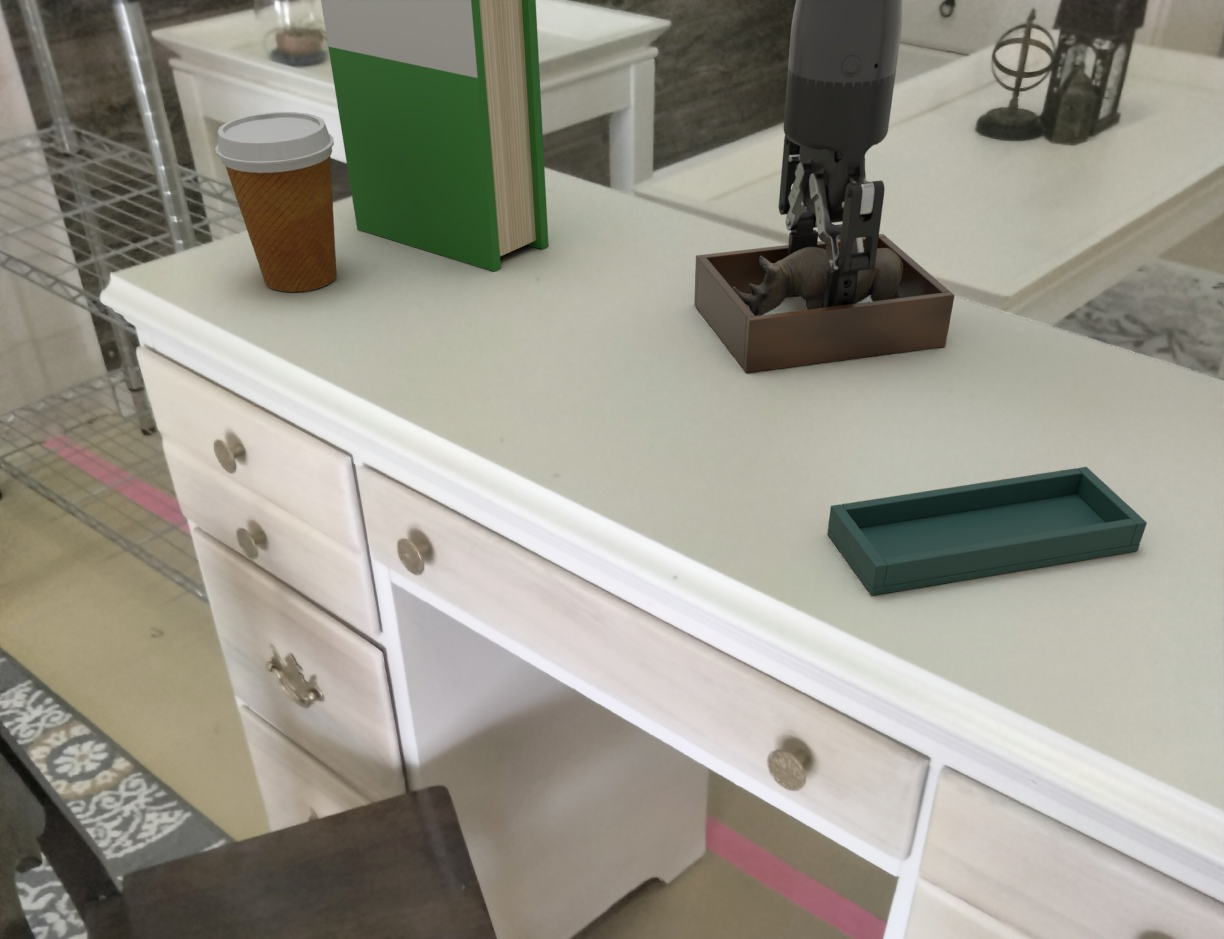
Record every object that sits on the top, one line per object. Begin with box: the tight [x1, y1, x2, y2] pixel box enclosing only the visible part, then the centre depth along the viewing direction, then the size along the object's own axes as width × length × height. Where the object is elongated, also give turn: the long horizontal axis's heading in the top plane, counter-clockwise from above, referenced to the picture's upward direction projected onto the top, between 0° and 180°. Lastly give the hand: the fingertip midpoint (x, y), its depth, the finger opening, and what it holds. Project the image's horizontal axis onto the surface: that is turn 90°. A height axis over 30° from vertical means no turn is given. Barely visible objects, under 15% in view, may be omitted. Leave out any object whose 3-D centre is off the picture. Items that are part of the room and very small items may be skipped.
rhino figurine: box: [733, 247, 903, 316], centre depth 95 cm, size 4×14×6 cm, turn 88°
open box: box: [693, 233, 955, 374], centre depth 96 cm, size 16×13×4 cm
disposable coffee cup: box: [215, 111, 338, 293], centre depth 102 cm, size 10×10×12 cm
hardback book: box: [320, 0, 549, 272], centre depth 104 cm, size 18×7×24 cm, turn 51°
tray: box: [827, 466, 1148, 596], centre depth 74 cm, size 17×7×2 cm, turn 104°
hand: (817, 298), depth 96 cm, fingers open, 7 cm apart
